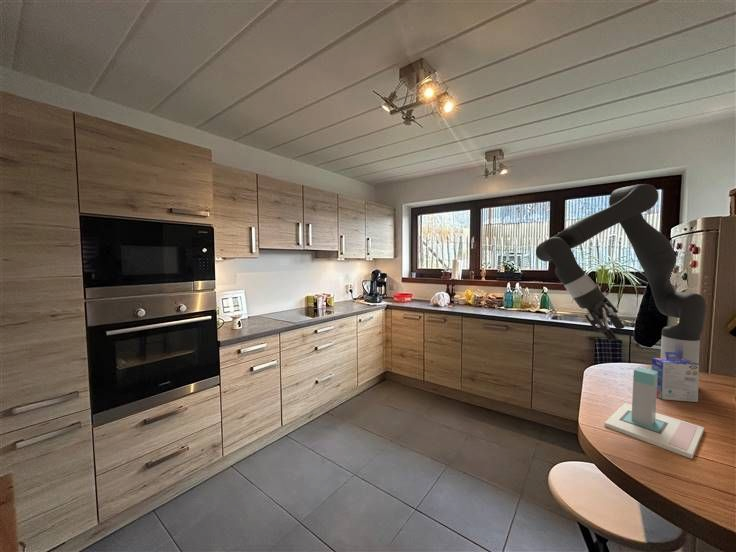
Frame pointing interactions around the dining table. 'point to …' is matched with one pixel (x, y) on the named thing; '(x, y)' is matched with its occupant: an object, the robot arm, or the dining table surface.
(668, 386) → the ink cartridge box
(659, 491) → the dining table surface
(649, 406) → the teal-capped square post
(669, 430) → the picture board
